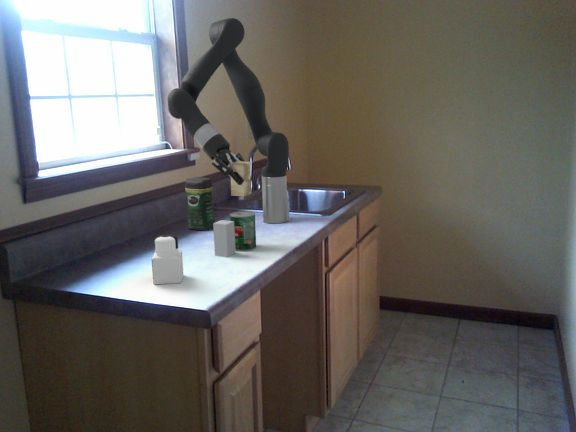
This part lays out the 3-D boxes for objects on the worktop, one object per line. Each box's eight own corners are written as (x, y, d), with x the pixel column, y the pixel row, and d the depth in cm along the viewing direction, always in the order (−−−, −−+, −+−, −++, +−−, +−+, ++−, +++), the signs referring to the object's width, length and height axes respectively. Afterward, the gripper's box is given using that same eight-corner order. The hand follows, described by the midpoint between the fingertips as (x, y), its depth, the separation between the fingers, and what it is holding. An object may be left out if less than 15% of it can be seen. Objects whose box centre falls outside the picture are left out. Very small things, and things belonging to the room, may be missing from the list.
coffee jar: (218, 227, 211) (216, 176, 207) (205, 231, 205) (202, 179, 201) (197, 224, 216) (194, 175, 212) (184, 229, 209) (180, 178, 205)
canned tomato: (261, 246, 184) (259, 212, 182) (247, 252, 178) (246, 217, 175) (240, 243, 188) (238, 210, 186) (226, 249, 181) (224, 215, 179)
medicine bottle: (157, 276, 157) (153, 233, 154) (183, 274, 158) (180, 232, 155) (153, 284, 150) (149, 240, 147) (181, 283, 151) (178, 238, 148)
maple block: (239, 193, 182) (237, 161, 180) (251, 193, 180) (250, 161, 178) (231, 195, 178) (229, 163, 176) (243, 196, 176) (242, 163, 174)
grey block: (223, 251, 179) (221, 220, 177) (235, 253, 177) (234, 221, 175) (214, 255, 175) (213, 223, 173) (227, 257, 173) (225, 224, 171)
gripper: (204, 134, 172) (241, 177, 169) (230, 131, 185) (265, 170, 182) (191, 152, 176) (226, 194, 173) (217, 147, 188) (251, 186, 185)
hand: (246, 181), depth 177 cm, fingers closed on maple block, 4 cm apart
